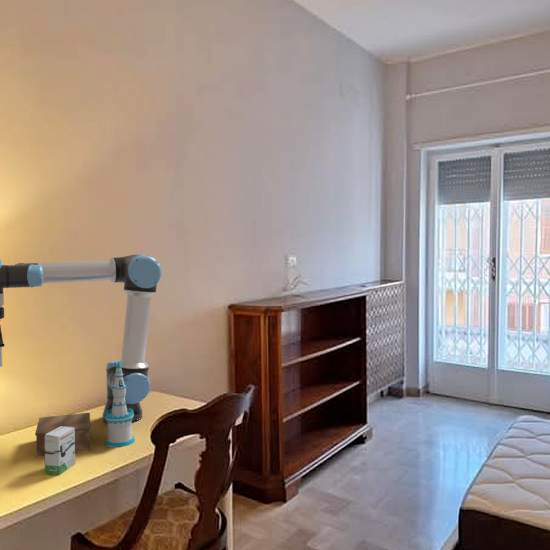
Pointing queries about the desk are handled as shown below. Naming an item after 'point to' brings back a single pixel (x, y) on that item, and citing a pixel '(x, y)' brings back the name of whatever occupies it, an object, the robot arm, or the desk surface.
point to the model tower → (119, 415)
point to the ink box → (59, 450)
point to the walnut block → (73, 420)
